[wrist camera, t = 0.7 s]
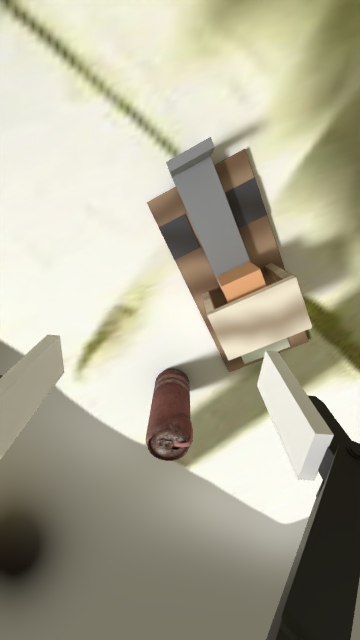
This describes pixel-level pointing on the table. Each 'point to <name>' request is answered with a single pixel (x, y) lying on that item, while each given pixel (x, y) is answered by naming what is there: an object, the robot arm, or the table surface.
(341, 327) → the table surface
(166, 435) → the can
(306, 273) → the table surface
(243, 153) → the tunnel board
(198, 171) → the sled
